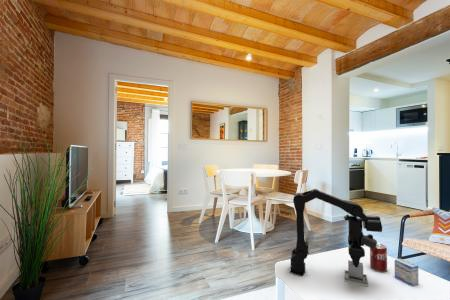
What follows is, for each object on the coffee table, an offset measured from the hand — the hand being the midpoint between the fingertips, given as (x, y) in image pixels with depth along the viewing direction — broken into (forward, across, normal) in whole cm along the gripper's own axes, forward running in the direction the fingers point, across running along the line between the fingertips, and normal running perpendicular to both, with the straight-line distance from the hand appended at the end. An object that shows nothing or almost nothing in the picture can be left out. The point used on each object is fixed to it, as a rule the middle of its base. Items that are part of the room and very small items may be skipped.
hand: (355, 262), depth 106 cm
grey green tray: (+8, 0, 0) cm, 8 cm away
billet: (+7, 0, 0) cm, 7 cm away
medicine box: (+9, +10, -21) cm, 25 cm away
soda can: (+9, +17, -11) cm, 22 cm away
